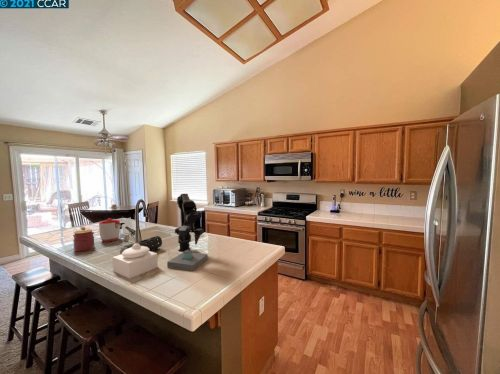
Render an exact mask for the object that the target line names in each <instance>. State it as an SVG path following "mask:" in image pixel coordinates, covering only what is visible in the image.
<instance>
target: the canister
mask: <svg viewBox="0 0 500 374" xmlns="http://www.w3.org/2000/svg"><path fill="white" fill-rule="evenodd" d="M73 233H74V234H73V235H72V237H73V239H72V240H73V251H74V252H75V251H77V253H80V251H82V252H87V250H88V251H90V250H93V249H94V248H95V236H94V235H95V233H94V231H93V229H91V228H86V227H85V226H81V229H80V228H79V229H77V230H75V231H74V232H73Z"/></svg>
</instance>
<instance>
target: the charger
mask: <svg viewBox="0 0 500 374" xmlns="http://www.w3.org/2000/svg"><path fill="white" fill-rule="evenodd" d="M183 252H184V260H191V259H192V258H193V253H194V251H193V250H192V249H189V250H186V251H183Z"/></svg>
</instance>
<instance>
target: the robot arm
mask: <svg viewBox="0 0 500 374" xmlns="http://www.w3.org/2000/svg"><path fill="white" fill-rule="evenodd" d="M176 204H177V207H178V208H179V209H180V210H179V211H180V226H179V227H176V228H175V229H174V233H175V234H176V235H178V237H177V242H178V244H179V249H178V251H179V252H184V251H186V250H191V247H190V246H191V245H190V242H192V235H191V233H192V234H194V235H193V236H194V244H195V245H198V242H199V239H200V237H201V236H202V235H203V234H204V233H205V230H204V228H197V229H196V227H195V223H196V221H197V219H198V218H197V216H196V215H195V213H197V210H198V209H197V204H196V202H195V201H194V200H193V199H190V196H189V194H188V193H181V194H180V195H179V196H178V197H176Z"/></svg>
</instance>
